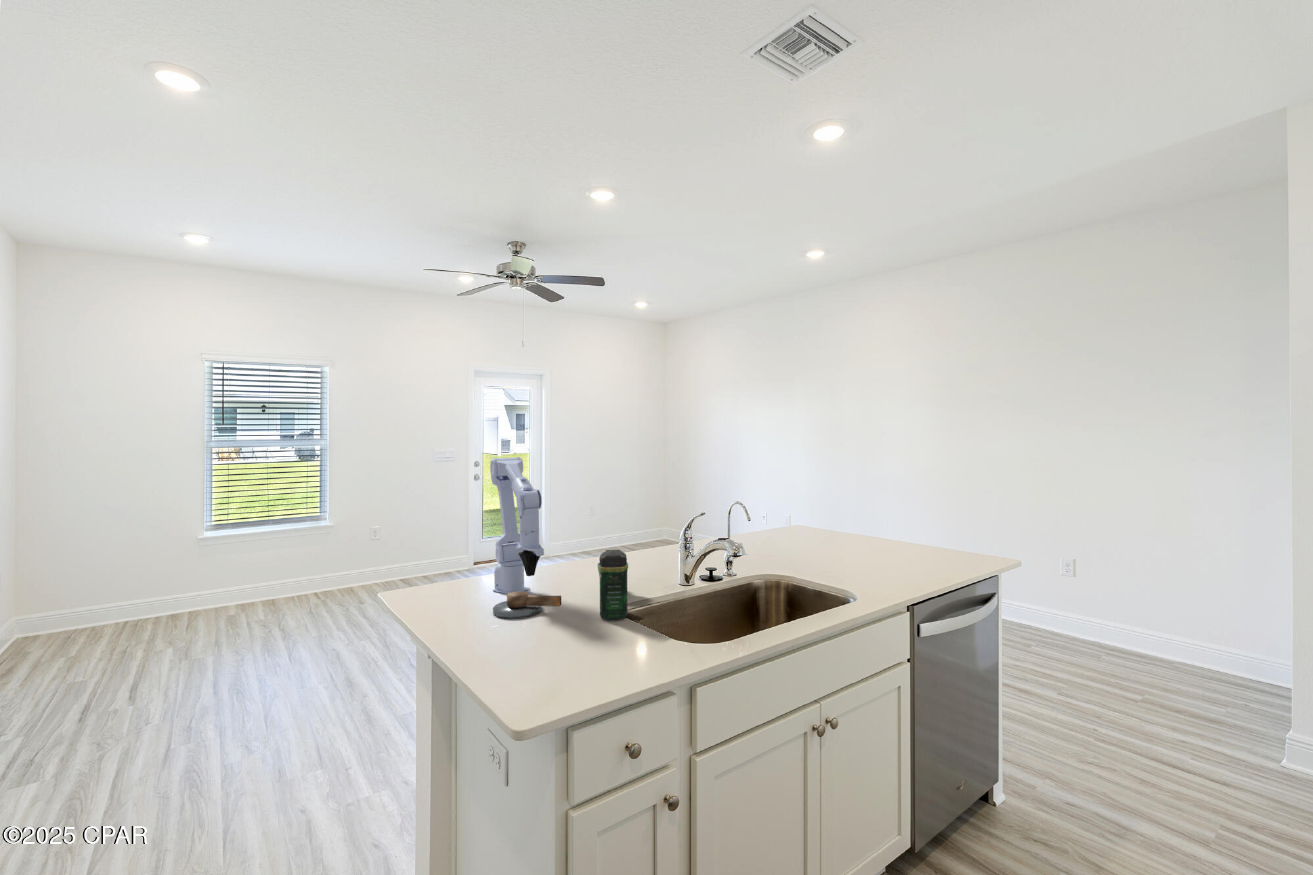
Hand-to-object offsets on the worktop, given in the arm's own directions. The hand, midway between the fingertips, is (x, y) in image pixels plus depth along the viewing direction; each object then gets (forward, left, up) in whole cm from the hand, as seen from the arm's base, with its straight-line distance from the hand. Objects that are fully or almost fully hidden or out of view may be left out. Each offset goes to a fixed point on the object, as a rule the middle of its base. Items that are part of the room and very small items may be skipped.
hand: (530, 575), depth 179 cm
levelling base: (0, -6, -9) cm, 11 cm away
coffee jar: (+27, +5, -10) cm, 29 cm away
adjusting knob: (+5, -3, -7) cm, 9 cm away
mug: (+13, +23, -10) cm, 28 cm away
